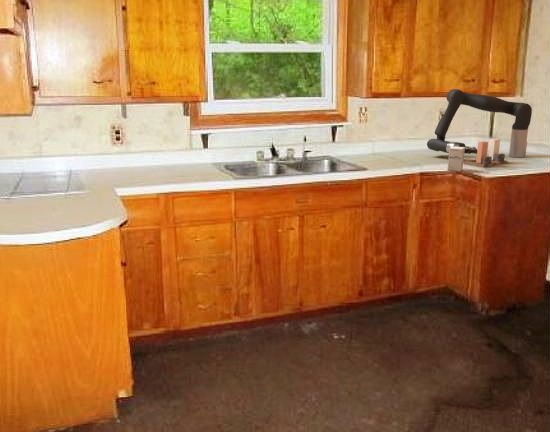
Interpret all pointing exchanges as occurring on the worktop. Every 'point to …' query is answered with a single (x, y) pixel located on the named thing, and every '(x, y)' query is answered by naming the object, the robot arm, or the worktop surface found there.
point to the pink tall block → (481, 151)
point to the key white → (494, 148)
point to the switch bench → (488, 161)
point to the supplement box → (456, 158)
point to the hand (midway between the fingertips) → (479, 152)
